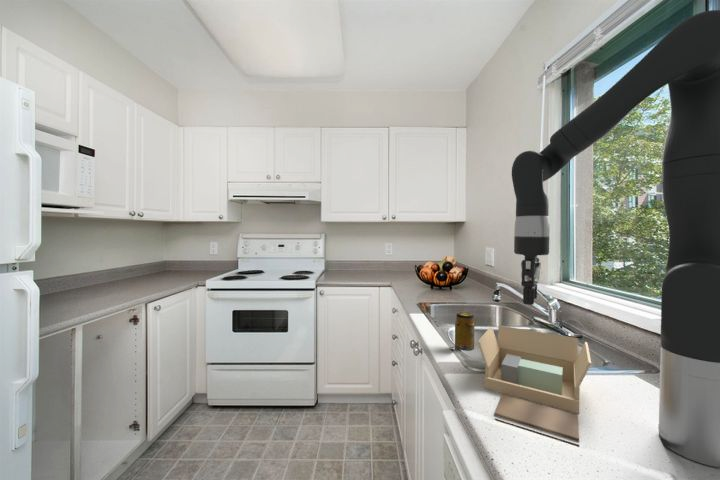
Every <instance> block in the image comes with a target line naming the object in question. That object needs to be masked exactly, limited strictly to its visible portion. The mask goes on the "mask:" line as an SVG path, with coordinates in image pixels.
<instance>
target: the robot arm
mask: <svg viewBox="0 0 720 480" xmlns="http://www.w3.org/2000/svg"><path fill="white" fill-rule="evenodd" d="M666 85H667V87H668V95H669V102H670V118H669V123H668V127H667V131H666V135H665V139H664V143H663V144H664V145H663V150H662V159H661V189H662V198H663V205H664V211H665V216H666V220H667V225H668V231H669V241H668V242H669V243H668V244H669V245H668V256H667V261H666V268H665V272H664V277H663V279H662V283H661V302H660V303H661V305H660V306H661V307H660V308H661V309H660V310H661V311H660V360H659V362H660V363H659V365H660V367H659V368H660V369H659V400H658V404H659V405H658V406H659V407H658V434H657V435H658V437H659V439H660V441H661V443H662V444H663V445H664V447H665V446H666V447H667V448H668V449H669V450H671V451H672V452H675V453H676V454H678V455H680V456H681V457H684V458H686V459H689V460H691V461H693V462H696V463H699V464H701V465H706V466H709V467H714V468H720V9H712V10H706V11H701V12H699V13H697V14H694V15H692V16H690V17H687V18H686V19H685V20H683V21H681V22H680V23H678V24H677V25H676V26H674V28H672V29H671V30H670V31H669V32H668V33H667V34H666V35H665V36H664V37H662V39H661V40H660V41H659V42H658V43H656V45H654V46H653V47H652V49H650V50H649V52H647V54H645V55H644V57H642V58H641V60H639V61H638V62H637V63H636V64H635V65H634V66H633V67H632V68H631V69H630V70H629V71H627V72H626V73H625V74H624V75H622V77H621V78H620V79H619V80H618V81H616V82H615V84H614V85H612V86H611V87H610V88H609V89H608V90H607V91H605V92H604V93H603V94H602V95H601V96H600V97H598V98H597V99H596V100H595V101H593V103H591V104H590V105H588V107H586V108H584V110H583V111H581V112H580V113H578V114H577V115H576V116H575V117H573V118H572V119H571V120H570V121H568V122H567V123H566V124H564V125H563V126H562V127H560V128H559V129H558V130H556V131H555V132H554V133H553V134H552V135H551V136H550V139H549V144H548V145H546V147H544V149H542V150H541V151H539V152H537V151H535V150H527V151H523V152H521V153H519V154H518V155H517V156H516V157H515V159H514V161H513V163H512V166H511V179H512V180H511V181H512V185H513V186H512V187H513V191H514V195H515V201H516V203H515V221H514V234H513V235H514V238H513V252H514V254H516V255H520V256H521V255H522V256H524V259H522V261H521V263H520V270H521V271H520V277H521V284H520V285H521V286H522V289H523V291H522V295H523V296H522V302H523V304H524V305H530V306H532V305H534V304H535V299H537V298H538V283H539V279H540V276H541V275H540V274H541V265H542V263H541V262H540V258H539V257H538V256H548V255H549V254H550V232H551V231H550V228H551V226H550V220H549V219H550V218H549V215H550V214H549V213H550V211H549V209H550V208H549V207H550V206H549V205H550V204H549V203H550V201H549V199H550V198H549V195H548V194H547V192H545V189H544V182H545V181H547V180H549V179H551V178H552V177H554V176H555V175H556V174H557V173H559V172H560V171H561V170H562V169H563V168H564V167H565V166H566V165H568V163H570V161H571V160H572V159H574V157H576V156H578V155H579V154H581V153H582V152H584V151H585V150H587V149H588V148H590V147H591V146H593V145H594V144H596V143H597V142H599V140H601V139H603V138H604V137H605V136H607V135H608V134H609V133H610V132H611V131H612V130H613V129H614V128H616V127H617V126H618V125H619V124H620V123H621V122H622V121H623V120H624V119H625V118H626V117H627V116H628V115H629V114H630V113H631V112H632V111H633V110H634V109H636V107H638V106H639V105H640V104H641V103H642V102H644V101H645V100H646V99H647V98H649V97H650V96H651V95H653V94H654V93H655V92H657V91H658V90H660V89H661V88H663V87H665V86H666Z"/></svg>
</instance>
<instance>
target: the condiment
mask: <svg viewBox="0 0 720 480" xmlns="http://www.w3.org/2000/svg"><path fill="white" fill-rule="evenodd" d="M454 347H455V350H456V349H457V350H461V351H464V352H465V351H467V352H469V351H474V350H475V323H474V315H473V314H472V313H471V312H466V311H465V312H464V311H463V312H462V311H460V312H457V313H456V321H454ZM451 348H452V347H449V348H448V349H449V350H451Z"/></svg>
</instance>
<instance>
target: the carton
mask: <svg viewBox="0 0 720 480" xmlns="http://www.w3.org/2000/svg"><path fill="white" fill-rule="evenodd" d="M497 331H498V332H497V337H496V335H495V331H494V328H493V326H489V327H488V329H487V330H486V331H485V332H484V334H483V335H481V337H480V338H479V340H478V341H477V344H478V348H479V351H480V353H481V356H482V360H483V362H484V365H485V367H484V380H483V381H484V383H483V386H484V387H483V388H484V389H486V390H490V391H494V392H498V393H501V394H504V395H508V396H511V397H515V398H519V399H522V400H526V401H530V402H533V403H537V404H541V405H544V406H548V407H552V408H555V409H559V410H563V411H566V412H570V413H574V414H577V415H579V414H580V387H581V384H582V382H583V381H584V379H585V377H586V375H587V373H588V371H589V369H590V367H591V366H592V360H591V354H590V349H589V344H588V342H587V341H584V343H583V345H582V347H581V349H580V351H579V353H578V350H579V349H578V348H579V347H578V346H579V345H578V340H579V338H578V337H575V336H568V335H560V334H554V333H548V332H543V331H535V330H529V329H522V328H516V327H510V326H504V325H498V330H497ZM506 354H510V355H515V356H520V357H521V359H524V360H529V361H534V362H539V363H544V364H548V365H553V366H558V367H563V373H562V395H558V394H554V393H550V392H546V391H542V390H538V389H534V388H530V387H526V386H522V385H518V384H514V383H510V382H506V381H502V380H501V366H502V362H503V360H504V358H505V356H506Z"/></svg>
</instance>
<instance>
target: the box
mask: <svg viewBox="0 0 720 480" xmlns="http://www.w3.org/2000/svg"><path fill="white" fill-rule="evenodd" d="M562 373H563V367H558V366H553V365H548V364H544V363H539V362H534V361H529V360H524V359H521V357H520V356H515V355H510V354H506V356H505V358H504V360H503V362H502V366H501V380H502V381H506V382H510V383H514V384H518V385H522V386H526V387H530V388H534V389H538V390H542V391H546V392H550V393H554V394H558V395H562Z"/></svg>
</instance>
